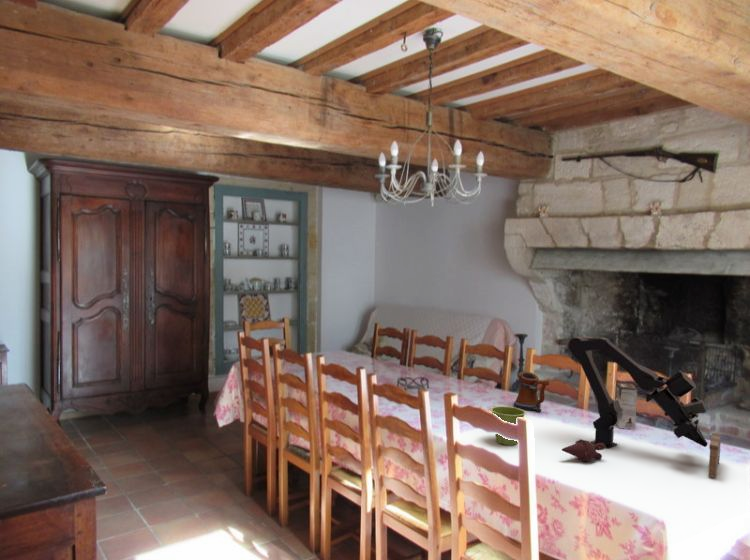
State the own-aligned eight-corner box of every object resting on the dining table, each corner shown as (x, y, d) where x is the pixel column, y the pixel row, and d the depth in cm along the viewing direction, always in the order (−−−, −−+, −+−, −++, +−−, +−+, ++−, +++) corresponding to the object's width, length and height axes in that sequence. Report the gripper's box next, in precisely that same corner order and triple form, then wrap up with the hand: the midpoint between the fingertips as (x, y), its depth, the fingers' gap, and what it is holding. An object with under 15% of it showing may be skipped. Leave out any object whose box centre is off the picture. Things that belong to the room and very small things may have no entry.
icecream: (570, 446, 175) (612, 448, 178) (559, 433, 182) (600, 435, 185) (564, 465, 177) (606, 467, 180) (553, 452, 184) (594, 454, 187)
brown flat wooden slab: (710, 462, 182) (712, 433, 181) (718, 463, 181) (720, 434, 180) (707, 475, 170) (709, 444, 169) (716, 477, 169) (718, 446, 168)
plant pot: (531, 444, 195) (533, 412, 194) (507, 450, 188) (508, 417, 188) (506, 434, 204) (507, 404, 204) (482, 439, 198) (483, 408, 198)
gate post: (717, 464, 181) (719, 435, 180) (709, 462, 183) (711, 433, 182) (720, 463, 182) (722, 434, 182) (712, 461, 184) (714, 432, 184)
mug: (557, 414, 234) (559, 378, 233) (535, 416, 229) (537, 380, 228) (529, 403, 250) (530, 369, 250) (507, 405, 246) (509, 371, 245)
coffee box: (613, 421, 226) (615, 382, 225) (630, 423, 224) (632, 383, 224) (618, 428, 217) (620, 387, 216) (636, 430, 215) (638, 388, 215)
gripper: (688, 396, 173) (728, 439, 168) (692, 385, 189) (729, 424, 183) (658, 416, 178) (696, 459, 172) (665, 404, 193) (699, 442, 188)
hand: (706, 445), depth 179 cm, fingers closed
